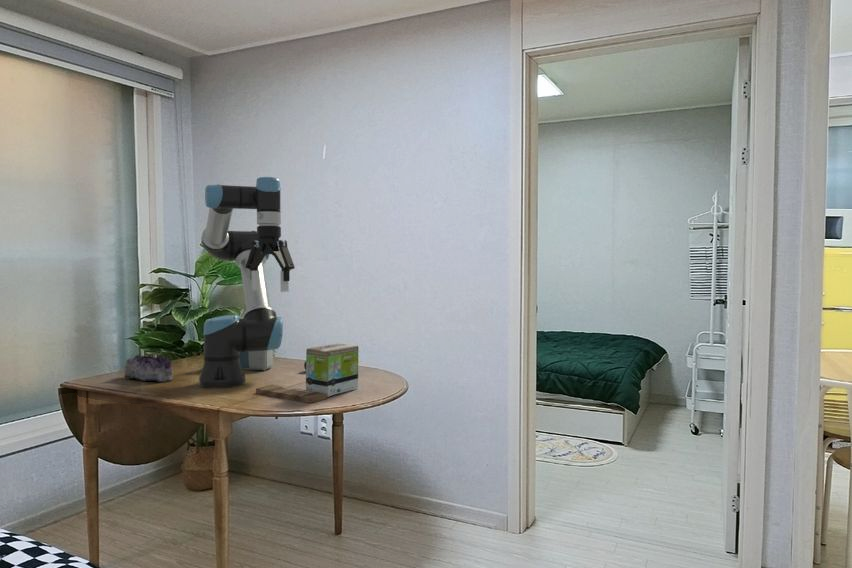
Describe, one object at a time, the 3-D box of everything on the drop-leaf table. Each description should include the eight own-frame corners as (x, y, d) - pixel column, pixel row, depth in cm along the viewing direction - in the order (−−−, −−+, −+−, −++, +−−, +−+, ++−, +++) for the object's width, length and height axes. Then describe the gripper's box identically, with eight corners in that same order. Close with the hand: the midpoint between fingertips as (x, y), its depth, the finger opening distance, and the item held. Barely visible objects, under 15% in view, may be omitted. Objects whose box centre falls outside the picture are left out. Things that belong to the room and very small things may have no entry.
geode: (186, 378, 215) (183, 352, 213) (160, 389, 205) (157, 361, 203) (147, 371, 224) (144, 346, 222) (119, 381, 213) (116, 354, 212)
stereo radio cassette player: (216, 369, 231) (215, 318, 230) (228, 365, 239) (227, 316, 238) (265, 371, 226) (264, 319, 226) (275, 367, 234) (275, 317, 234)
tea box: (328, 398, 185) (328, 350, 184) (305, 394, 190) (304, 348, 189) (359, 388, 197) (359, 344, 197) (336, 385, 203) (336, 342, 202)
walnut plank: (256, 393, 191) (255, 388, 191) (272, 389, 197) (272, 384, 197) (310, 403, 178) (310, 397, 178) (326, 398, 184) (326, 393, 184)
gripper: (234, 226, 196) (235, 290, 197) (287, 223, 183) (288, 292, 184) (251, 227, 202) (252, 289, 203) (305, 224, 189) (305, 291, 190)
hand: (269, 291), depth 194 cm, fingers open, 13 cm apart
